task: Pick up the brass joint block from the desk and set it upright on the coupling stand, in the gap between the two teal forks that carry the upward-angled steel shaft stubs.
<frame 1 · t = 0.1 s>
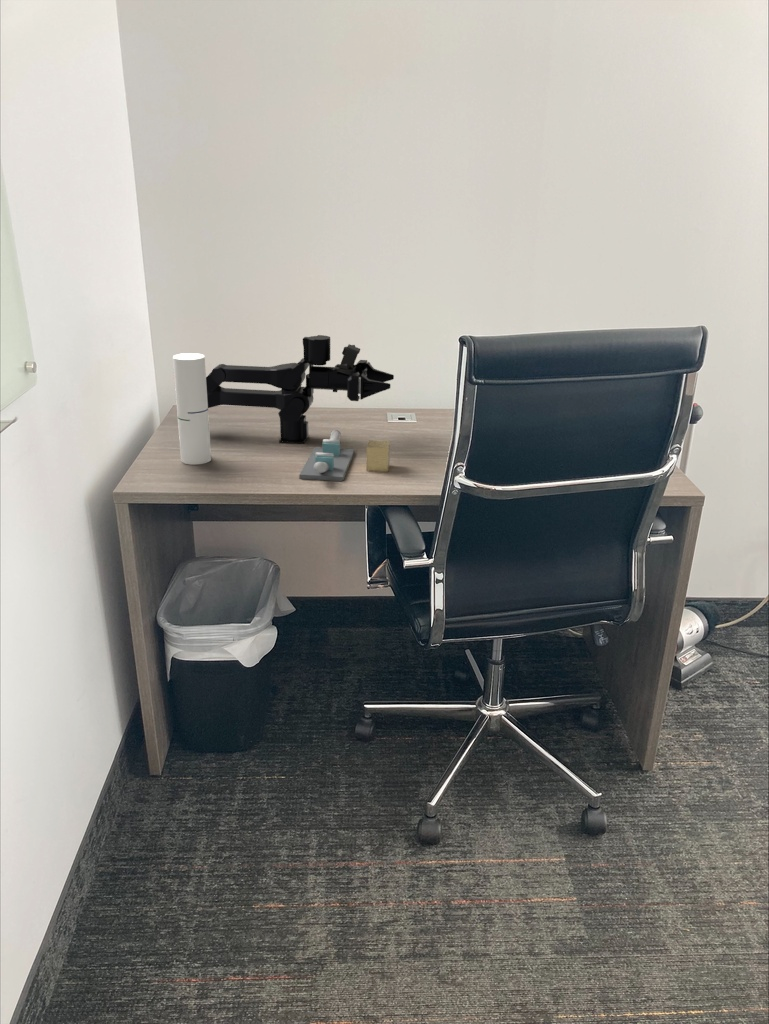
hand: (392, 381, 202), 17 cm above the table, tool horizontal, fingers open, 9 cm apart
joint block: (378, 468, 192), on the table
coupling stand: (328, 465, 193), on the table
cylindrical container: (196, 460, 195), on the table
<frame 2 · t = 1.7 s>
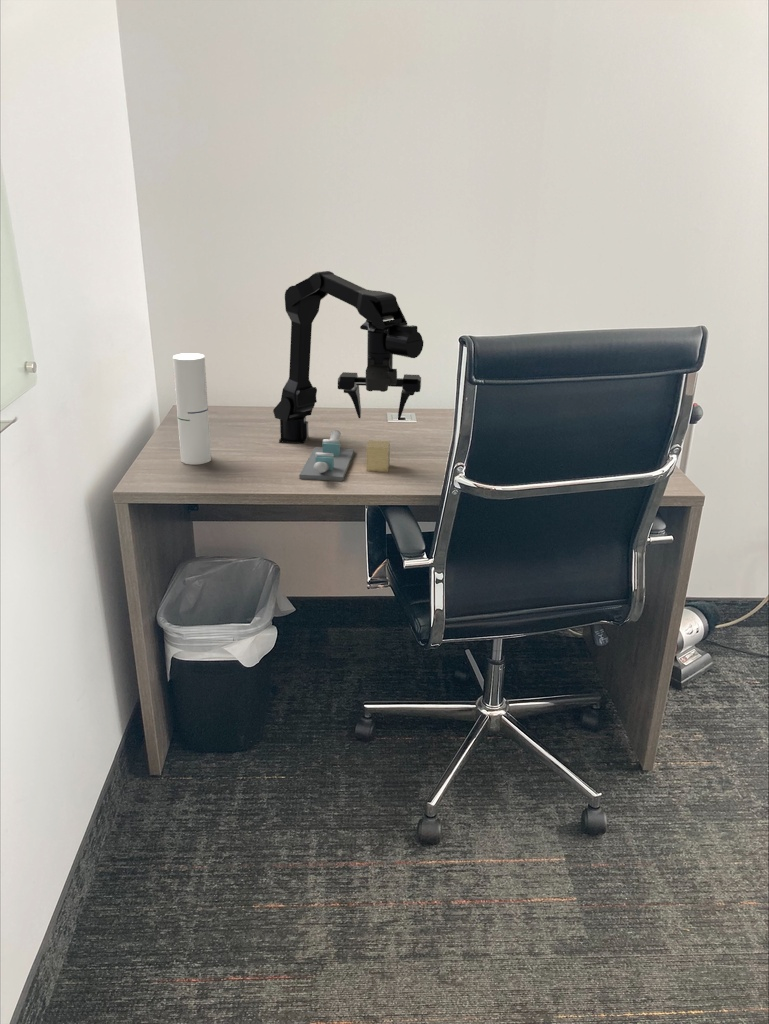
hand: (379, 418, 187), 12 cm above the table, tool pointing down, fingers open, 9 cm apart
nothing on the table moved.
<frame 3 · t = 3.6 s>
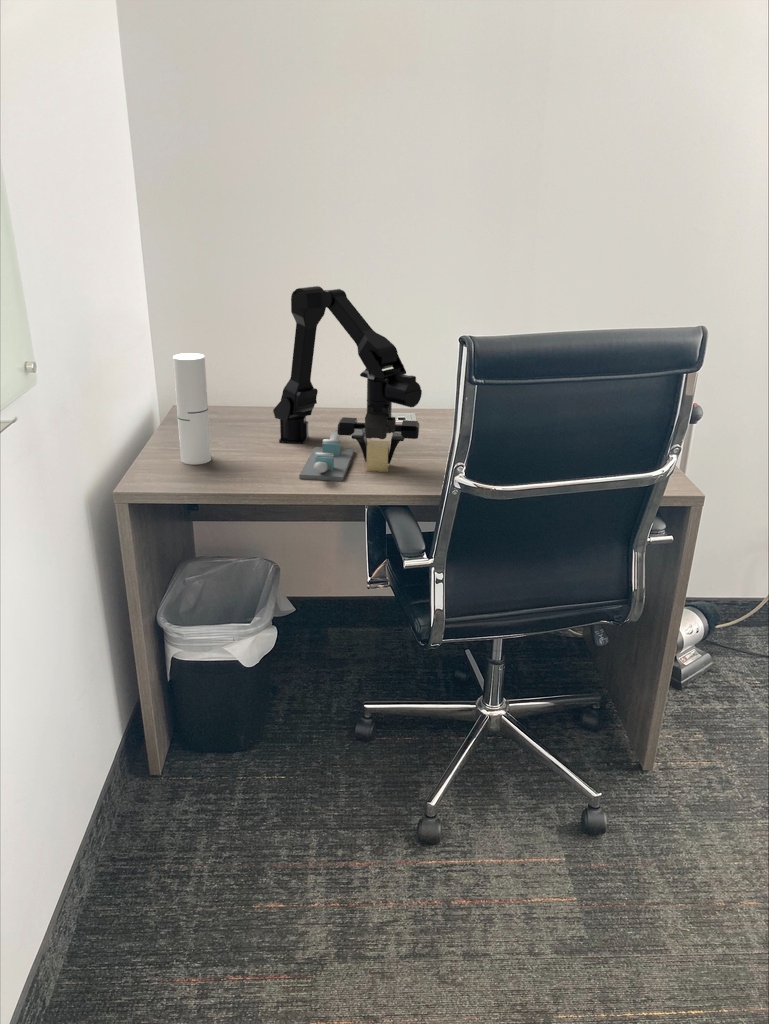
hand: (378, 462, 192), 1 cm above the table, tool pointing down, fingers closed on joint block, 5 cm apart
joint block: (378, 468, 192), on the table, touching gripper
everything else where it was.
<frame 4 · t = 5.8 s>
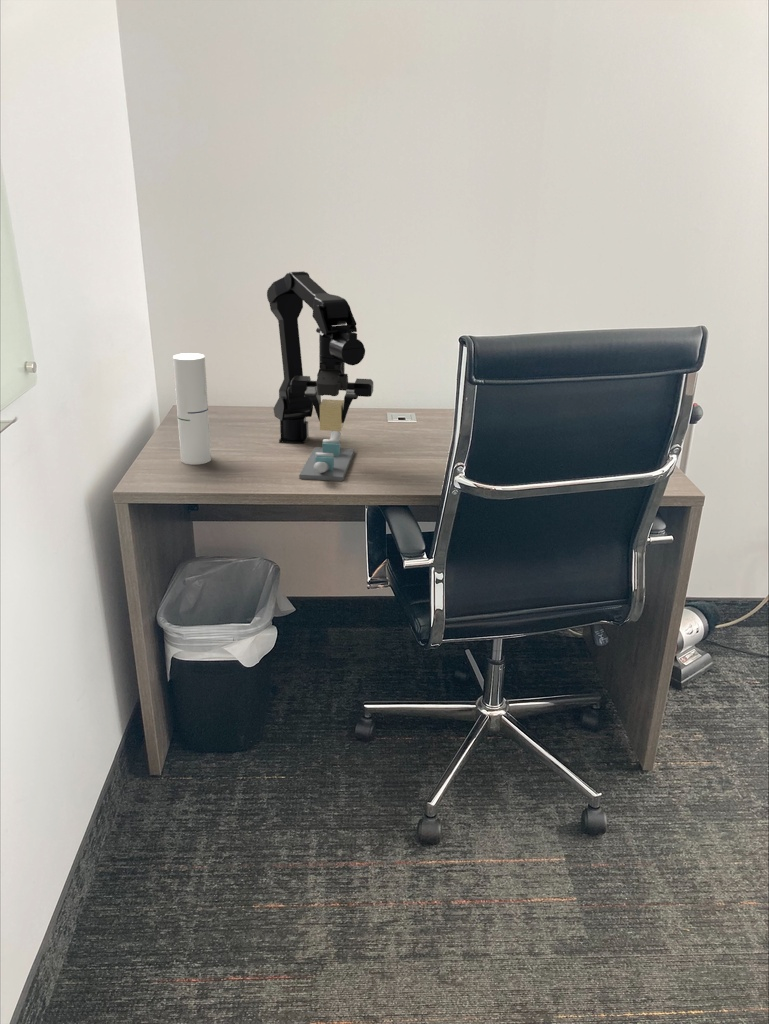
hand: (331, 421, 189), 11 cm above the table, tool pointing down, fingers closed on joint block, 5 cm apart
joint block: (331, 427, 189), point 9 cm above the table, touching gripper
everything else where it was.
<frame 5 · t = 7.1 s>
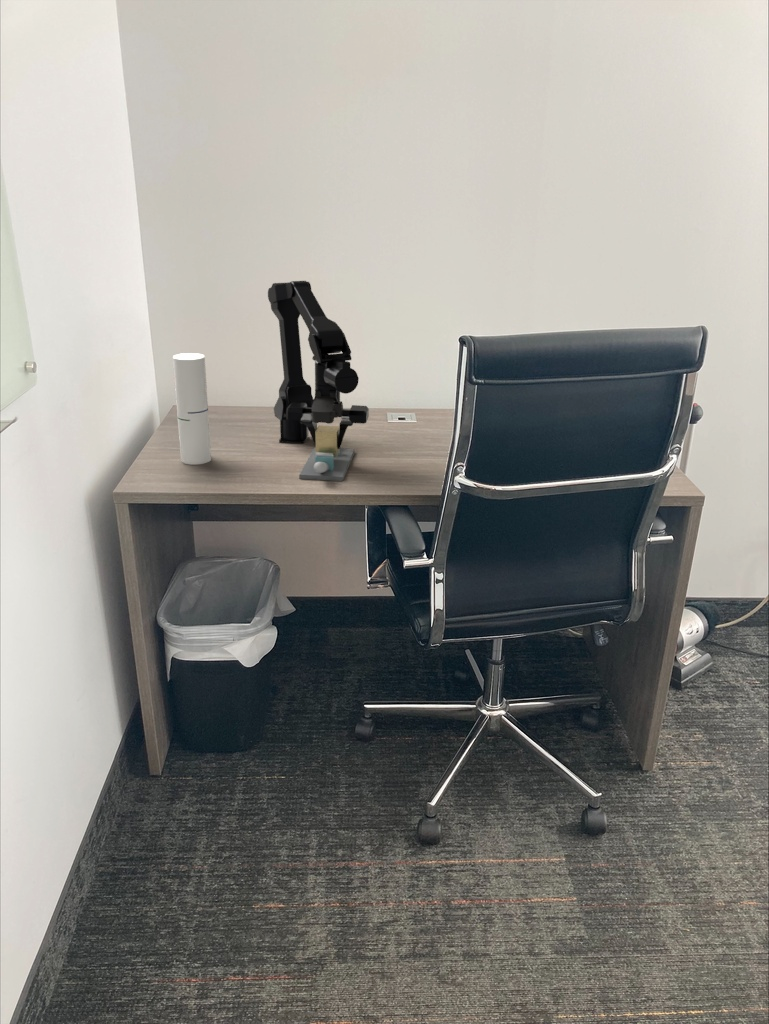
hand: (327, 447, 191), 4 cm above the table, tool pointing down, fingers closed on joint block, 5 cm apart
joint block: (327, 453, 192), point 3 cm above the table, touching gripper
everything else where it was.
when the fingers open (4 cm above the table, at t = 8.0 s): joint block drops 1 cm, resting on coupling stand.
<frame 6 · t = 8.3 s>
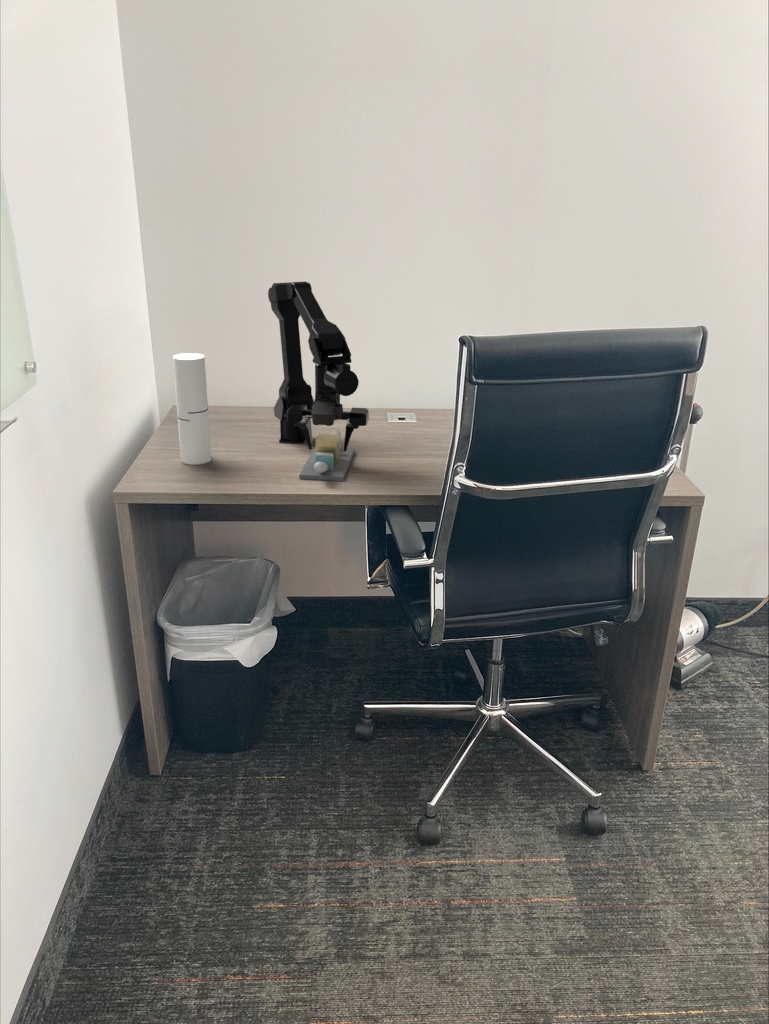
hand: (328, 450, 192), 4 cm above the table, tool pointing down, fingers open, 8 cm apart
joint block: (328, 461, 193), point 1 cm above the table, touching coupling stand
everything else where it was.
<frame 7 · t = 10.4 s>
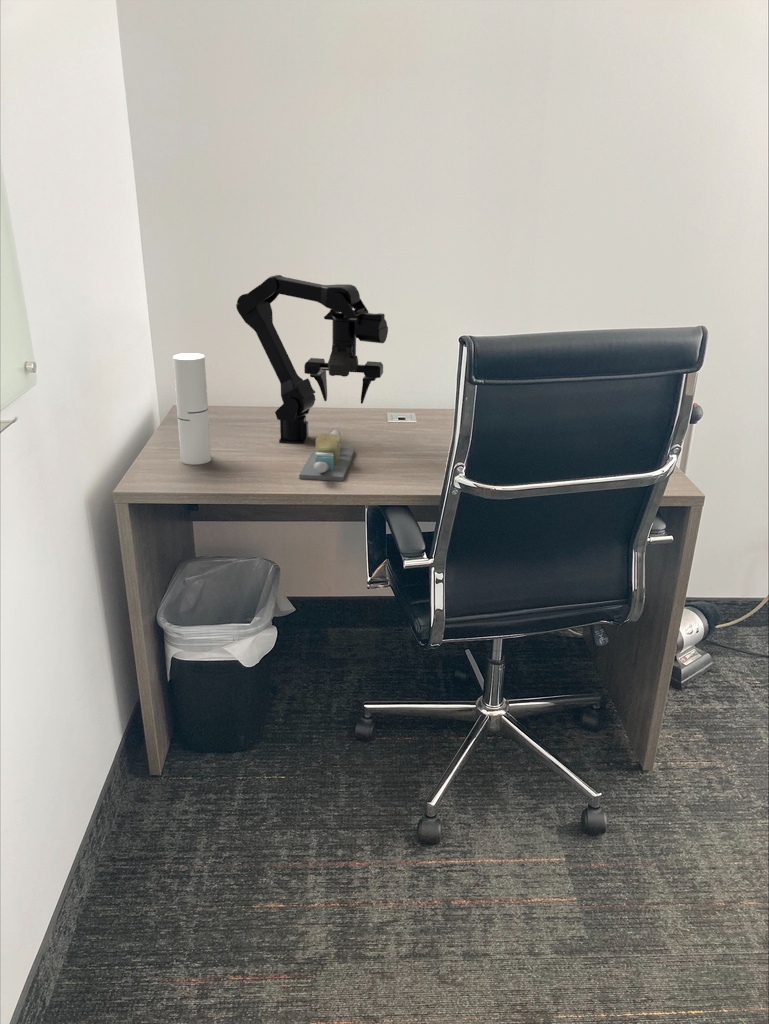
hand: (343, 402, 201), 12 cm above the table, tool pointing down, fingers open, 9 cm apart
nothing on the table moved.
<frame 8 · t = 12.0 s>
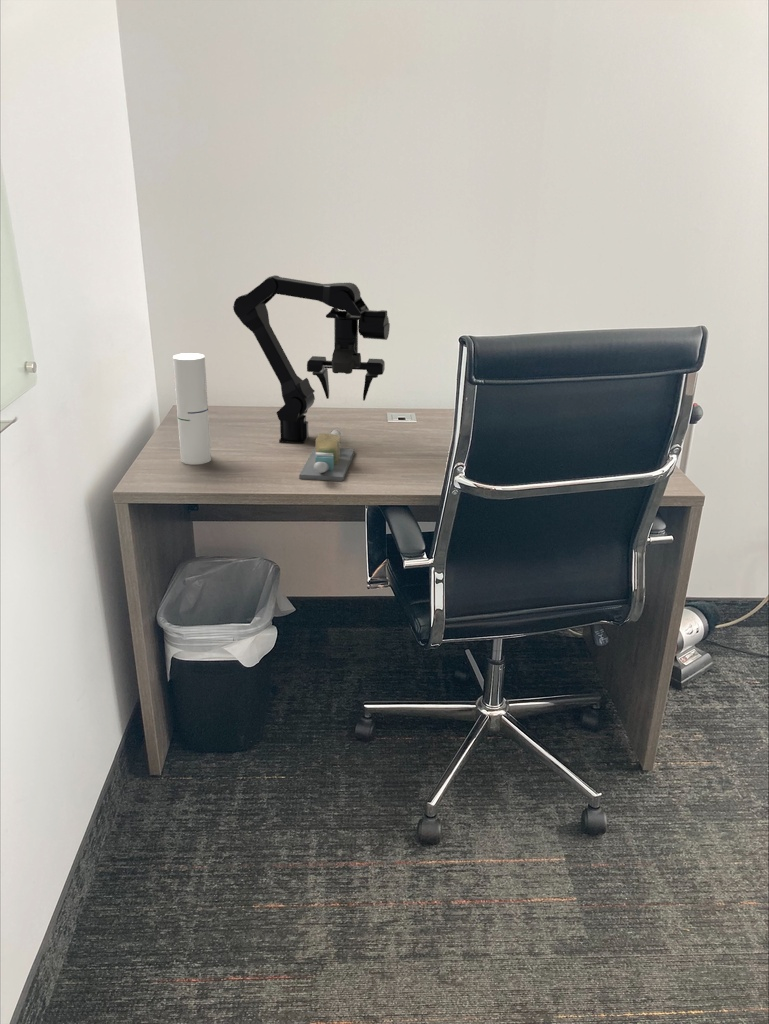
hand: (345, 399, 203), 12 cm above the table, tool pointing down, fingers open, 9 cm apart
nothing on the table moved.
at the end: joint block 0.0 cm off-centre on the coupling stand, point 1.0 cm above the coupling stand's base; joint block tilted 0°; the gripper is holding nothing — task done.
